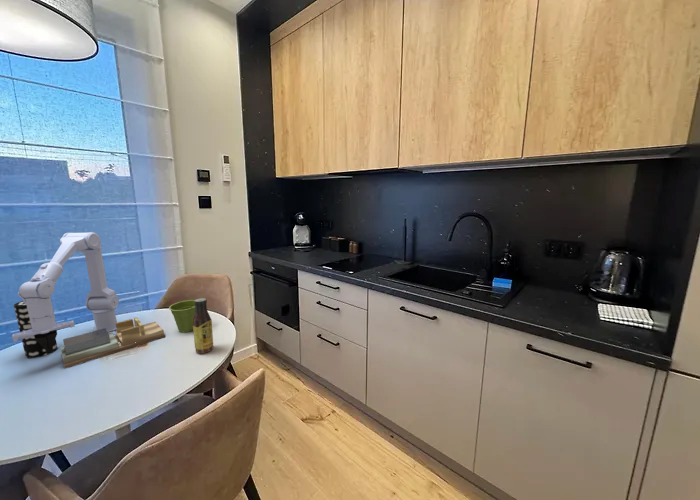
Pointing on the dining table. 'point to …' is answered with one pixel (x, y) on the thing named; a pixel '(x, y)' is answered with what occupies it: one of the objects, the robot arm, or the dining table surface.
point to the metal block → (86, 341)
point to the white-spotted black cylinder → (30, 344)
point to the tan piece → (123, 335)
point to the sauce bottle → (202, 327)
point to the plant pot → (184, 314)
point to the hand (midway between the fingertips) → (49, 352)
